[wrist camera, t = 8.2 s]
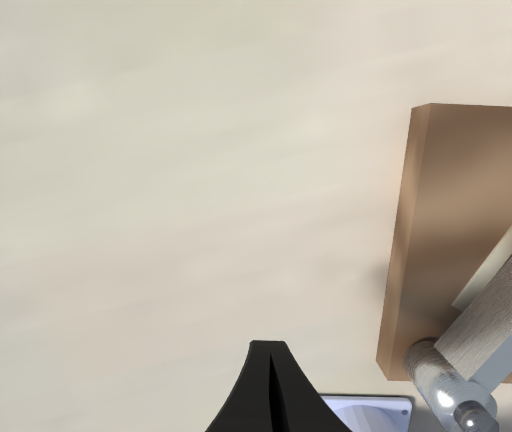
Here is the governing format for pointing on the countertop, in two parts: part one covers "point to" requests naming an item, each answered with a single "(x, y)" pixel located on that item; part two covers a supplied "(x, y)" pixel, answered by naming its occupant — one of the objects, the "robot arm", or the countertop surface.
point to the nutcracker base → (446, 224)
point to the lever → (468, 360)
